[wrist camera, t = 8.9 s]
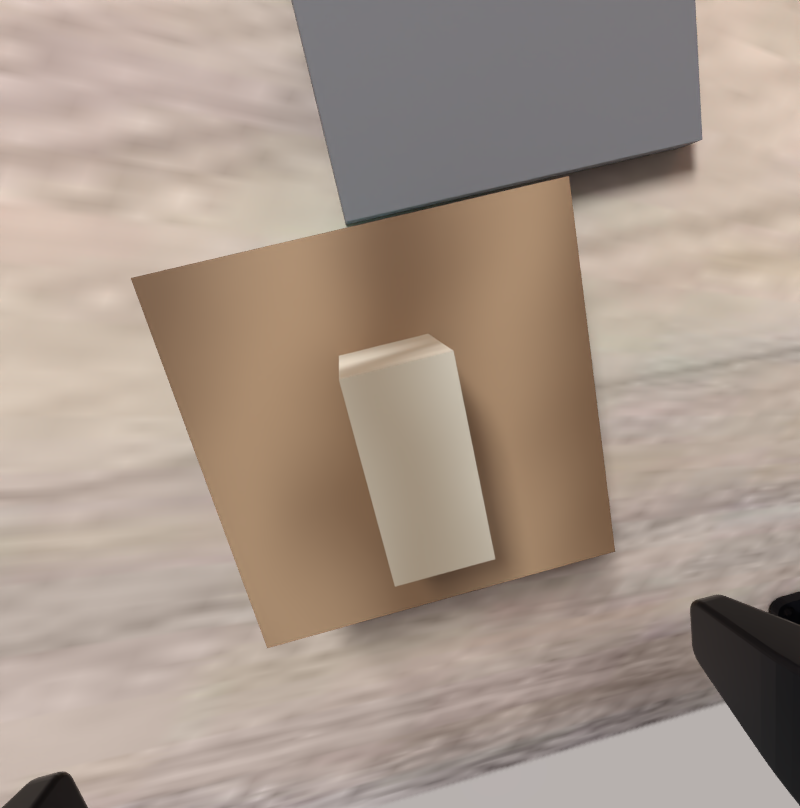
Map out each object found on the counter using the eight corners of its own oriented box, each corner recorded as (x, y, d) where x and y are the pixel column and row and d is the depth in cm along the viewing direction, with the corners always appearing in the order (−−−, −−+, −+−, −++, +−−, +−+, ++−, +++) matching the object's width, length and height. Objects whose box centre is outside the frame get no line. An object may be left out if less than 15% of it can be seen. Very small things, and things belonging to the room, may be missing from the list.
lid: (555, 181, 13) (638, 146, 10) (601, 538, 16) (678, 615, 13) (143, 277, 13) (63, 279, 9) (270, 629, 16) (250, 738, 12)
